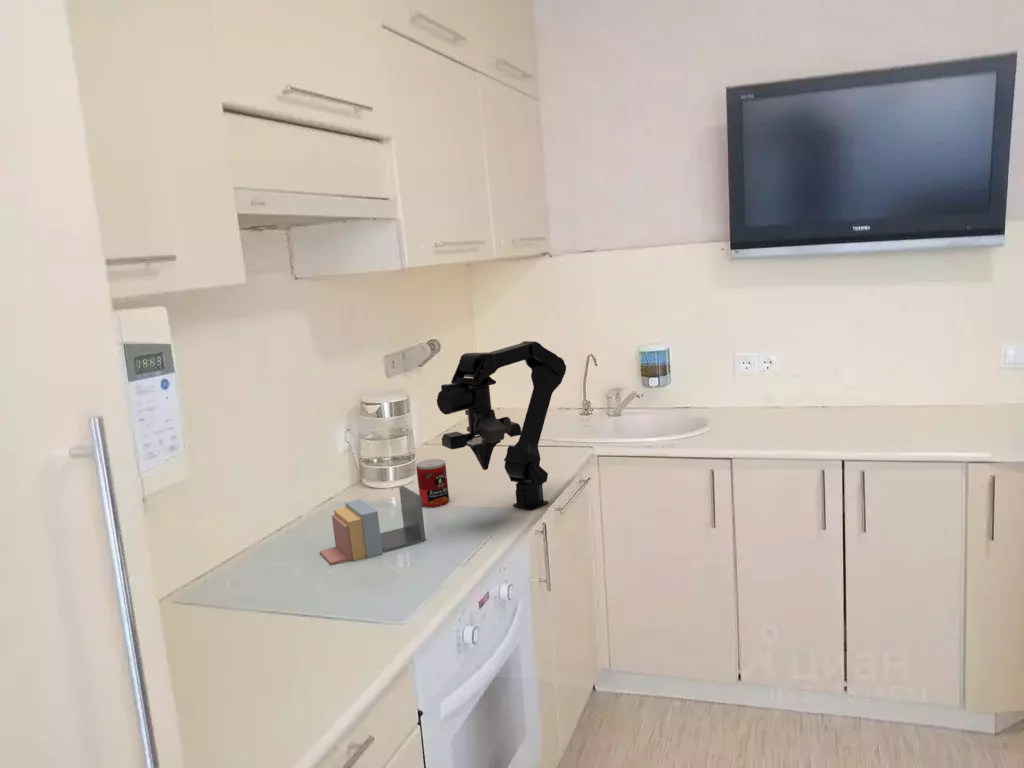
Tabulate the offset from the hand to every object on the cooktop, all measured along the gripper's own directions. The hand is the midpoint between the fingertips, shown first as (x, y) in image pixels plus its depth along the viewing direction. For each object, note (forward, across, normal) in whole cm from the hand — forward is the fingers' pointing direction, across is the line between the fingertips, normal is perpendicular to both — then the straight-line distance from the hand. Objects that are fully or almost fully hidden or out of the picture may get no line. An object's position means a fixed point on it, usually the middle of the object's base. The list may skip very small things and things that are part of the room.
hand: (485, 469), depth 198 cm
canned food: (+13, -4, +24) cm, 27 cm away
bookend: (+13, -23, +4) cm, 27 cm away
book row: (+13, -34, +4) cm, 37 cm away
